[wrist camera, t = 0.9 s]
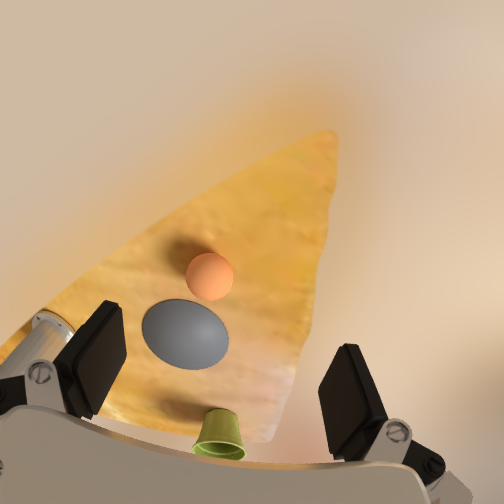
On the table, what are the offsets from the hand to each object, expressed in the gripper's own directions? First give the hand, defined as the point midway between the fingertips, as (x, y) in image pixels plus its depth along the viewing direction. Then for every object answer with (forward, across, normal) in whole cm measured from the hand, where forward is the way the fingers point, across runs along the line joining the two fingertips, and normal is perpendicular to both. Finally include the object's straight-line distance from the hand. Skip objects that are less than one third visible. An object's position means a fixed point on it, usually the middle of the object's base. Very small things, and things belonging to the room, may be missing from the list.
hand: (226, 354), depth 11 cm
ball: (+20, +3, +7) cm, 21 cm away
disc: (+22, +6, +19) cm, 30 cm away
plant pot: (+22, -2, +38) cm, 44 cm away
